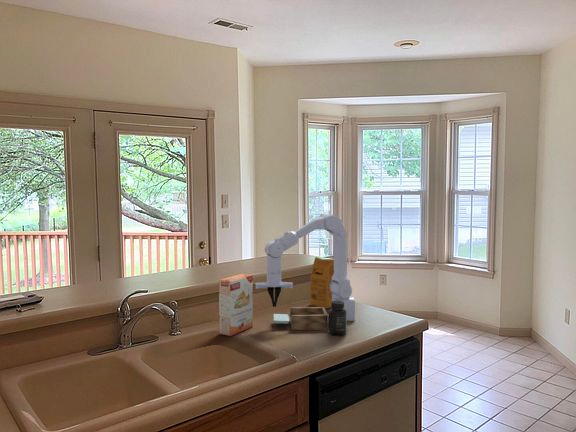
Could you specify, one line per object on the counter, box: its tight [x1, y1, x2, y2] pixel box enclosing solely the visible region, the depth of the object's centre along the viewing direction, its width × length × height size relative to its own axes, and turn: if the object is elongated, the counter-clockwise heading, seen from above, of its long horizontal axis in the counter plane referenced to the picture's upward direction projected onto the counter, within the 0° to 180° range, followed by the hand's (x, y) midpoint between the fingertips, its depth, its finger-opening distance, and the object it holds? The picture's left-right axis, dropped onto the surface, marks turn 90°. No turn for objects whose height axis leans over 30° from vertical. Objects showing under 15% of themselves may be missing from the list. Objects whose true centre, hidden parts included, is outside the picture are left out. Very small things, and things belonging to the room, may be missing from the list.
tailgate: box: [273, 313, 291, 325], centre depth 190 cm, size 1×9×6 cm
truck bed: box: [289, 306, 328, 331], centre depth 191 cm, size 14×12×6 cm
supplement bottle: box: [327, 301, 348, 337], centre depth 180 cm, size 7×7×12 cm
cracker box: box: [218, 273, 254, 337], centre depth 183 cm, size 14×6×21 cm, turn 148°
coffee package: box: [308, 256, 334, 310], centre depth 219 cm, size 10×12×22 cm
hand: (274, 306), depth 190 cm, fingers closed
